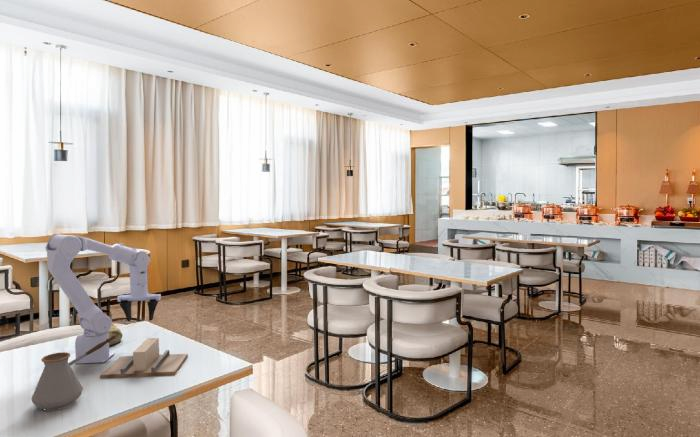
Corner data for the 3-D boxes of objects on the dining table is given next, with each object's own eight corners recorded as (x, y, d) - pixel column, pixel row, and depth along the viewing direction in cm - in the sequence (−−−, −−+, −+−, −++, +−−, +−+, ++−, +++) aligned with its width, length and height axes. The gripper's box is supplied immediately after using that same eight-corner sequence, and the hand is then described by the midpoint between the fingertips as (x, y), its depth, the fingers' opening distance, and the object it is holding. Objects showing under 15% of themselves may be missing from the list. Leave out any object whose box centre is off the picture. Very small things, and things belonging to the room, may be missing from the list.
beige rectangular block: (133, 371, 137) (133, 352, 137) (148, 355, 150) (147, 338, 150) (145, 370, 138) (144, 351, 137) (159, 355, 151) (158, 337, 150)
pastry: (93, 337, 173) (92, 317, 172) (127, 336, 175) (126, 315, 174) (77, 350, 159) (76, 328, 158) (114, 348, 161) (113, 326, 160)
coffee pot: (38, 419, 111) (34, 360, 110) (27, 404, 119) (24, 349, 118) (127, 390, 126) (125, 338, 125) (113, 379, 134) (111, 330, 133)
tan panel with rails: (100, 378, 135) (99, 370, 135) (120, 359, 150) (120, 352, 150) (175, 374, 137) (174, 366, 137) (187, 356, 152) (187, 349, 152)
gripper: (163, 280, 167) (164, 316, 167) (122, 281, 165) (123, 317, 166) (156, 284, 160) (158, 321, 160) (114, 285, 158) (116, 323, 159)
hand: (140, 320), depth 163 cm, fingers open, 7 cm apart
